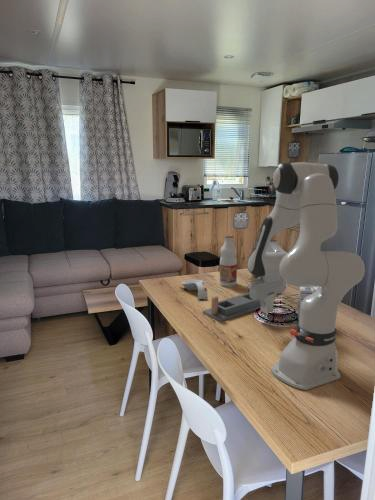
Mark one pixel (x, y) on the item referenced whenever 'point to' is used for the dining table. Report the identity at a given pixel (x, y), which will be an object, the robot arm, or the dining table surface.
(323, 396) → the dining table surface
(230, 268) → the fruit juice
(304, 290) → the syrup box
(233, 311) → the socket board
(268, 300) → the white cylinder
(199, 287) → the handheld barcode scanner
